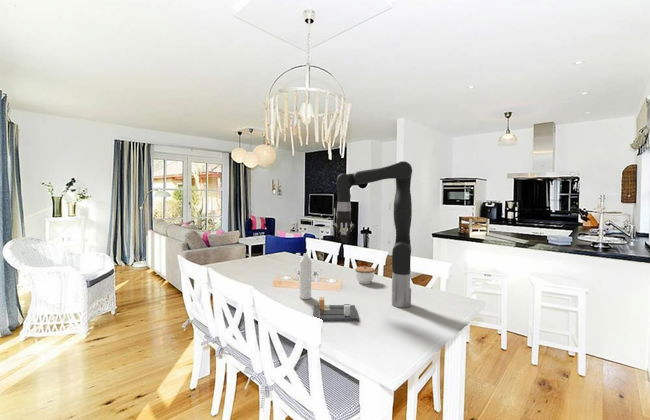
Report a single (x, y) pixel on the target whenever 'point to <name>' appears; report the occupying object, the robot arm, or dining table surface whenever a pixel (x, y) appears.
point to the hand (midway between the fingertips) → (343, 241)
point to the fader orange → (321, 302)
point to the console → (335, 313)
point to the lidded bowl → (364, 274)
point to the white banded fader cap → (346, 309)
